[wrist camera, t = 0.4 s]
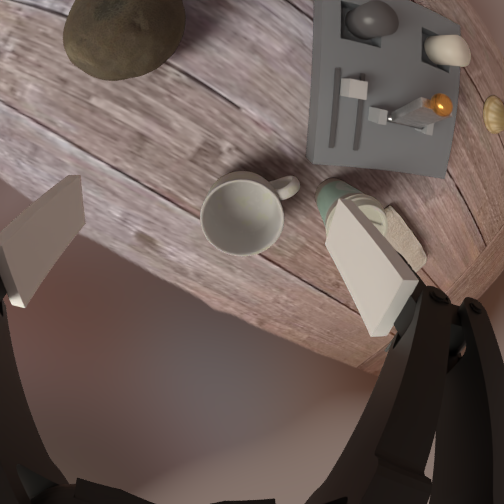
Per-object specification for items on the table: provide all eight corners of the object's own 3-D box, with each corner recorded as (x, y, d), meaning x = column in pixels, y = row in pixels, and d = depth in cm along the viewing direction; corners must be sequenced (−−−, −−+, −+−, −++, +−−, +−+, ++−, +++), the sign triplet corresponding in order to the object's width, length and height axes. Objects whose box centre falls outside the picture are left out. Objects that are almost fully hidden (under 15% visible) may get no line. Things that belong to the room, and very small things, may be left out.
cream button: (424, 31, 25) (448, 29, 20) (447, 42, 25) (470, 42, 20) (423, 59, 27) (447, 59, 23) (446, 68, 28) (470, 71, 23)
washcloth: (386, 290, 57) (391, 299, 54) (339, 246, 49) (345, 255, 47) (425, 254, 52) (433, 262, 50) (387, 200, 45) (395, 208, 42)
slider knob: (340, 78, 30) (350, 78, 27) (357, 81, 30) (367, 82, 27) (339, 95, 31) (348, 97, 28) (356, 98, 31) (366, 100, 29)
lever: (381, 108, 31) (426, 82, 21) (418, 117, 32) (464, 98, 21) (383, 128, 32) (430, 106, 21) (420, 135, 32) (468, 120, 22)
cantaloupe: (216, 22, 28) (209, -14, 15) (149, 98, 33) (106, 107, 20) (142, -21, 22) (103, -60, 9) (81, 53, 27) (19, 50, 14)
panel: (313, -18, 24) (329, -34, 18) (445, 26, 26) (472, 25, 20) (305, 156, 39) (319, 170, 34) (431, 171, 41) (454, 185, 35)
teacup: (222, 238, 46) (221, 267, 39) (192, 180, 40) (184, 201, 34) (303, 207, 44) (317, 232, 37) (281, 144, 38) (293, 157, 32)
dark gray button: (344, 5, 24) (362, -5, 19) (377, 14, 24) (398, 7, 19) (344, 35, 26) (363, 29, 22) (377, 43, 27) (398, 39, 22)
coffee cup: (364, 200, 44) (400, 236, 34) (323, 228, 46) (348, 271, 36) (340, 159, 40) (376, 187, 30) (295, 190, 42) (317, 227, 32)
